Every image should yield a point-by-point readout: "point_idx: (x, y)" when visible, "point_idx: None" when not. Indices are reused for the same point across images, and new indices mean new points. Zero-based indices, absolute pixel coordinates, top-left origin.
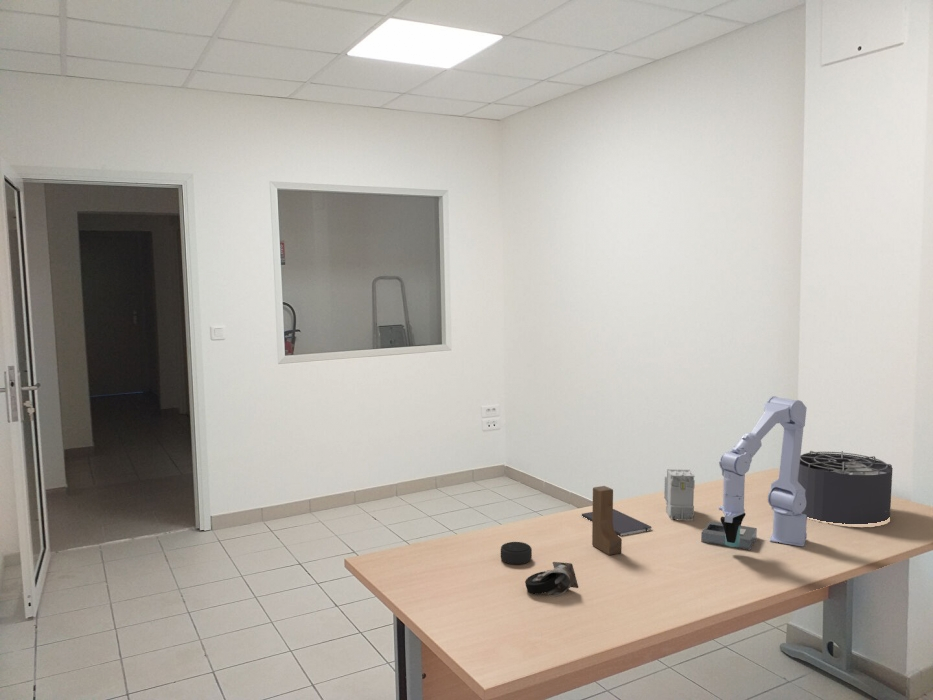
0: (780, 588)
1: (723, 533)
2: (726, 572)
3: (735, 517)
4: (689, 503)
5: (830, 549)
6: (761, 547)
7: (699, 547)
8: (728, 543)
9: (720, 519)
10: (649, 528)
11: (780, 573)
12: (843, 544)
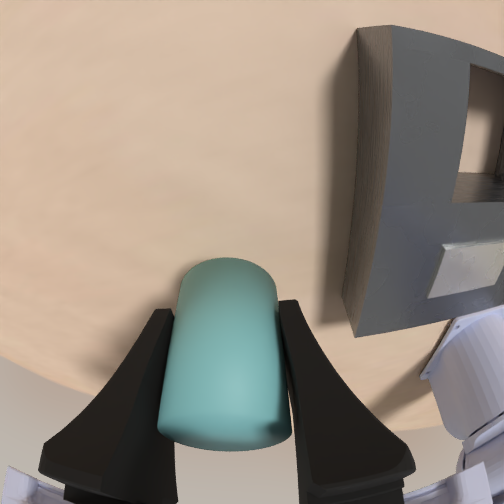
0: (74, 386)
1: (430, 197)
2: (23, 284)
3: (302, 476)
4: None
5: (412, 400)
6: None
7: (225, 43)
8: (178, 299)
9: (43, 460)
10: None
11: None
12: None
